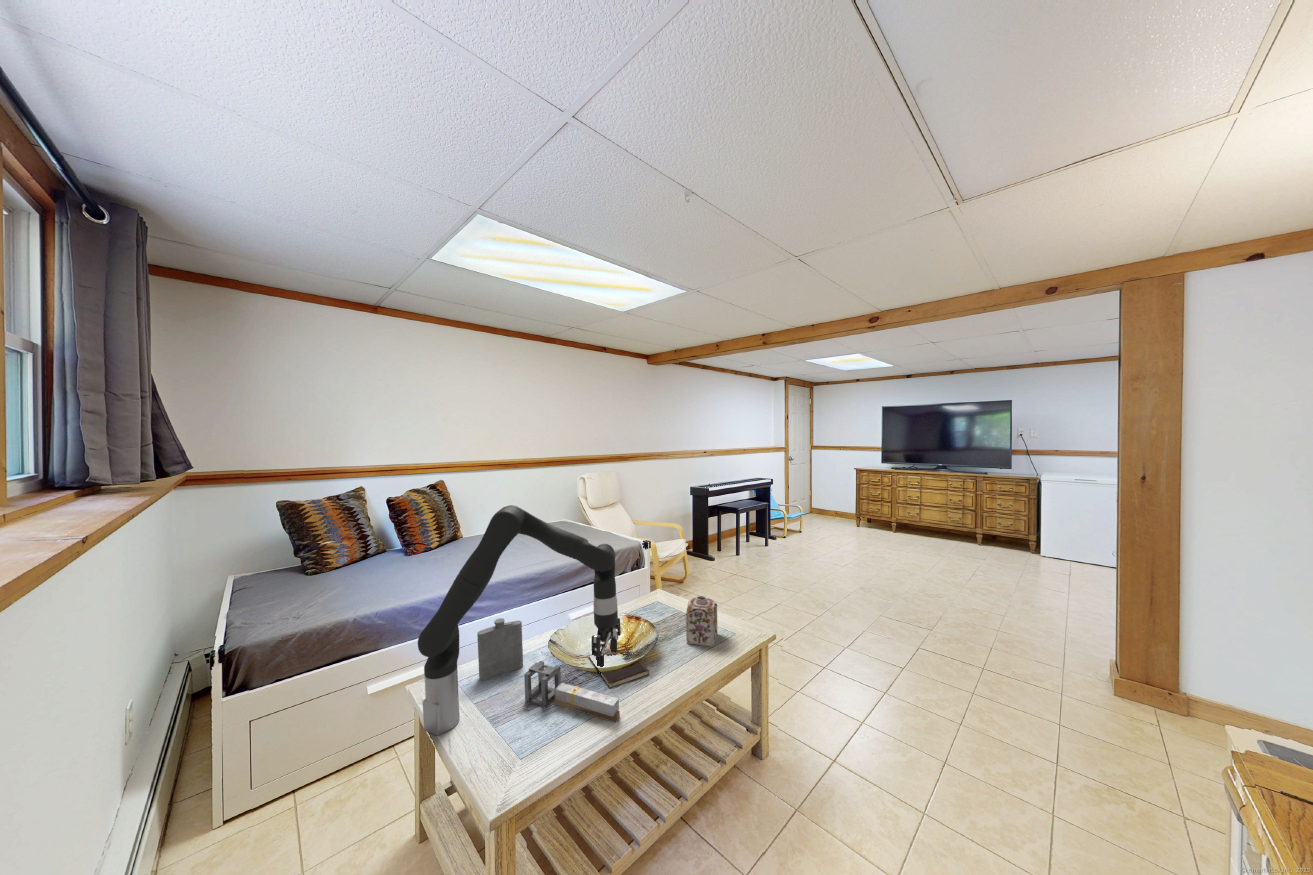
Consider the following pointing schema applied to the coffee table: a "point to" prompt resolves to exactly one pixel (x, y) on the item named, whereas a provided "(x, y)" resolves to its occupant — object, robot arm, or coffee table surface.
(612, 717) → the walnut rail
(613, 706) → the square steel tube
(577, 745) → the coffee table surface
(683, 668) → the coffee table surface
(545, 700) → the frame
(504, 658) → the hip flask
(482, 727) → the coffee table surface
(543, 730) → the coffee table surface
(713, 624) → the decorative jar
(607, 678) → the hardcover book
